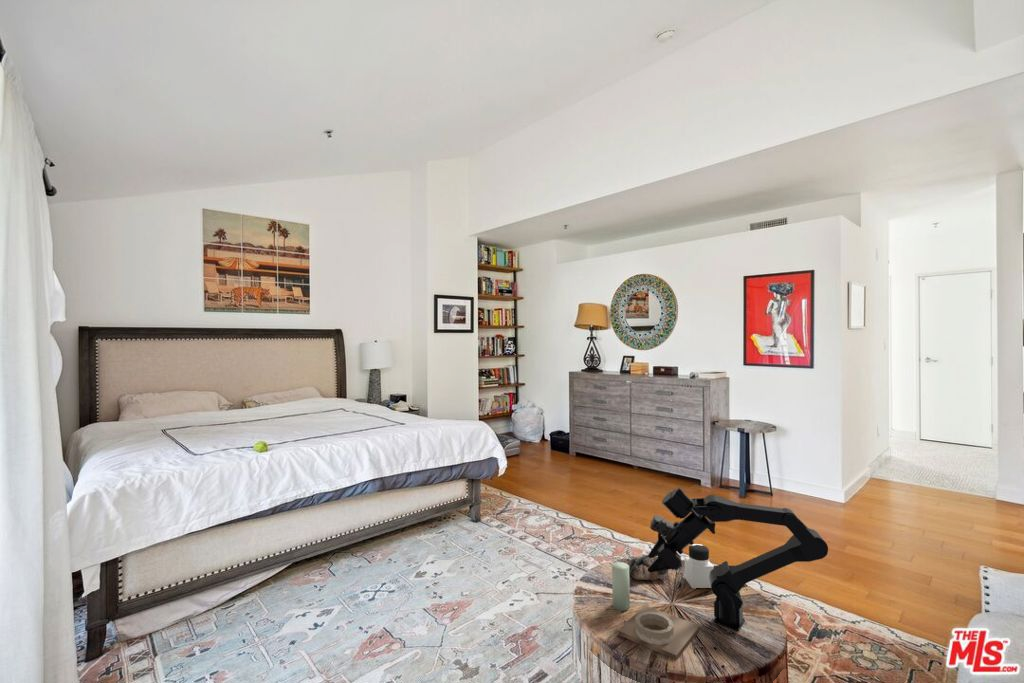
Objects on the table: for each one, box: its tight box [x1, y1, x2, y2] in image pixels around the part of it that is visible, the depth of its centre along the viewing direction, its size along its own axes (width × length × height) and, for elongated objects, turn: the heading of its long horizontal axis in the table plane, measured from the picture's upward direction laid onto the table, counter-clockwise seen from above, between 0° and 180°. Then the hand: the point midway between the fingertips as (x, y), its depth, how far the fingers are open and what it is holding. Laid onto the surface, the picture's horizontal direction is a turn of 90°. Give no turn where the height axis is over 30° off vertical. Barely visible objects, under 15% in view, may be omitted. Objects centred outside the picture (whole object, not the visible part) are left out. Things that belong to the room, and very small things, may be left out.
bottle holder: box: [617, 604, 701, 661], centre depth 129 cm, size 16×16×4 cm
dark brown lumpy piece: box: [627, 554, 669, 581], centre depth 158 cm, size 12×7×10 cm
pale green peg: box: [611, 561, 631, 612], centre depth 142 cm, size 5×5×12 cm
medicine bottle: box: [684, 543, 715, 590], centre depth 154 cm, size 7×7×12 cm
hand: (648, 563), depth 139 cm, fingers open, 9 cm apart
